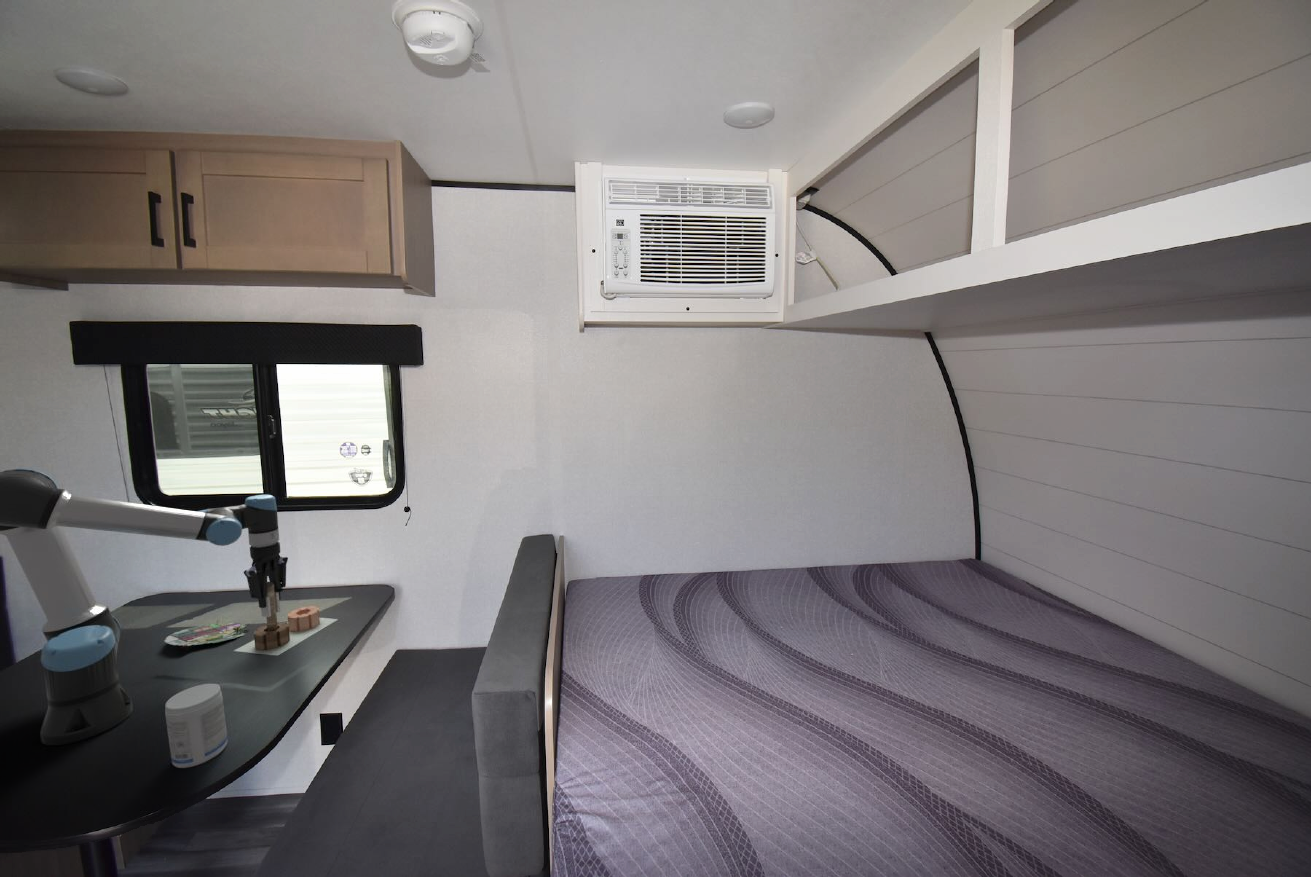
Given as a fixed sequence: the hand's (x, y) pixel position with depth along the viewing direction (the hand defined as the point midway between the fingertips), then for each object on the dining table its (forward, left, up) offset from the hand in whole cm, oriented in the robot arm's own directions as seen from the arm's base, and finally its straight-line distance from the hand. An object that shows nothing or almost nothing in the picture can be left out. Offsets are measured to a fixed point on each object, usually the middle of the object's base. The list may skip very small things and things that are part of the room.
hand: (271, 613), depth 158 cm
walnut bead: (0, 0, -10) cm, 10 cm away
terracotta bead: (+12, 0, -10) cm, 16 cm away
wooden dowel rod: (0, 0, -7) cm, 7 cm away
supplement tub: (-43, -26, -12) cm, 52 cm away
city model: (+2, +25, -12) cm, 28 cm away
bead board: (+6, 0, -11) cm, 13 cm away
